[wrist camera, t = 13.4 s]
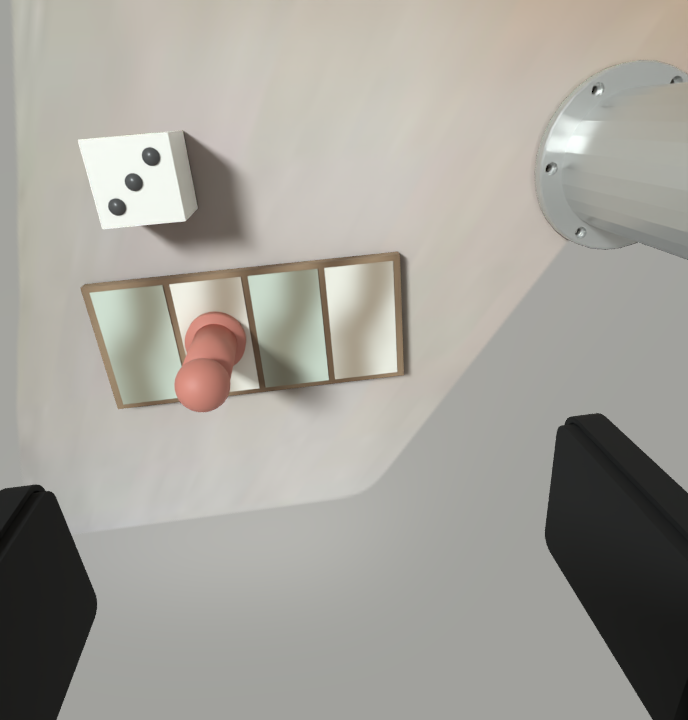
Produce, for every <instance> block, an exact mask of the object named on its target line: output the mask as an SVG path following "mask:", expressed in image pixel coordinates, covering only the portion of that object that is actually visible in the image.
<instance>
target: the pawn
mask: <svg viewBox="0 0 688 720" xmlns="http://www.w3.org/2000/svg"><path fill="white" fill-rule="evenodd" d="M245 346H246V334H245V331H244V329H243V327H242V325H241V324H240V323H239V322H238V320H236V319H235V318H234V317H232V316H231V315H229V314H226V313H223V312H216V311H215V312H207V313H204V314H201V315H200V316H198V317H197V318H195V319H194V320H193V321H192V323H191V324H190V326H189V328H188V330H187V332H186V335H185V348H186V351H187V355H186V357H185V360H184V362H183V365H182V367H181V368H180V370H179V371H178V373H177V375H176V378H175V383H174V388H175V393H176V396H177V398H178V399H179V401H180V402H181V403H182V404H183V405H184V406H185V407H186V408H188V409H190V410H192V411H196V412H208V411H212V410H214V409H216V408H218V407H219V406H221V405H222V404H223V403H224V402H225V400H226V399H227V397H228V395H229V392H230V384H231V383H230V379H231V374H232V370H233V366H234V365H236V364H237V363H238V362H239V361H240V359H241V358H242V356H243V354H244V351H245Z"/></svg>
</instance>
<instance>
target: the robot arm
mask: <svg viewBox="0 0 688 720" xmlns="http://www.w3.org/2000/svg"><path fill="white" fill-rule="evenodd" d="M592 88H594V92H593V93H592ZM547 165H549V168H548V170H547V171H546V170H545V169H546V166H547ZM535 186H536V193H537V197H538V201H539V205H540V207H541V209H542V211H543V214H544V216H545V218H546V219H547V221H548V222H549V223H550V224H551V226H552V227H553V228H554V229H555V230H556V231H557V232H558V233H560V234H561V235H562V236H563V237H565V238H566V239H568V240H570V241H572V242H575V243H577V244H579V245H582V246H585V247H588V248H594V249H604V250H606V249H615V248H622V247H625V246H628V245H632V244H635V243H637V242H639V243H642V244H645V245H648V246H651V247H654V248H657V249H659V250H662V251H665V252H667V253H670V254H673V255H676V256H679V257H682V258H684V259H687V260H688V75H687V73H685V72H683V71H682V70H680V69H678V68H677V67H675V66H673V65H670V64H667V63H663V62H660V61H649V60H639V61H632V62H625V63H622V64H618V65H615V66H612V67H608V68H606V69H604V70H602V71H600V72H599V73H597V74H595V75H593V76H591V77H590V78H588V79H587V80H586V81H584V82H583V83H582V84H581V85H579V86H578V87H577V88H575V89H574V90H573V92H572V93H571V94H570V95H569V96H568V97H567V98H566V99H565V100H564V101H563V102H562V103H561V105H560V106H559V108H558V109H557V111H556V112H555V114H554V115H553V117H552V118H551V120H550V122H549V124H548V126H547V128H546V130H545V133H544V135H543V137H542V140H541V143H540V147H539V150H538V154H537V159H536V167H535ZM577 229H578V230H577ZM576 230H577V232H576ZM545 539H546V543H547V546H548V549H549V550H550V553H551V554H552V556H553V558H554V559H555V561H556V563H557V564H558V566H559V568H560V569H561V571H562V572H563V574H564V576H565V577H566V579H567V581H568V582H569V584H570V585H571V587H572V589H573V590H574V592H575V593H576V595H577V597H578V598H579V600H580V602H581V603H582V605H583V606H584V608H585V610H586V612H587V613H588V615H589V616H590V618H591V620H592V621H593V623H594V625H595V626H596V628H597V630H598V631H599V633H600V634H601V636H602V638H603V639H604V641H605V643H606V644H607V646H608V647H609V649H610V651H611V652H612V654H613V656H614V657H615V659H616V660H617V662H618V664H619V665H620V667H621V669H622V670H623V672H624V674H625V675H626V677H627V678H628V680H629V682H630V683H631V685H632V687H633V688H634V690H635V691H636V693H637V695H638V696H639V698H640V700H641V701H642V703H643V705H644V706H645V708H646V709H647V711H648V713H649V714H650V716H651V717H652V719H653V720H688V493H687V492H686V491H685V490H684V489H683V488H682V487H681V486H680V485H678V484H677V483H676V482H675V481H674V480H673V479H672V478H671V477H670V476H669V475H668V474H667V473H665V472H664V471H663V470H662V469H661V468H660V467H659V466H658V465H657V464H656V463H655V462H654V461H653V460H652V459H650V458H649V457H648V456H647V455H646V454H645V453H644V452H643V451H642V450H641V449H640V448H639V447H637V446H636V445H635V444H634V443H633V442H632V441H631V440H630V439H629V438H628V437H627V436H626V435H625V434H624V433H623V432H621V431H620V430H619V429H618V428H617V427H616V426H615V425H614V424H613V423H612V422H611V421H610V420H609V419H607V418H606V417H605V416H604V415H602V414H599V413H596V414H588V415H580V416H573V417H569V418H567V420H566V422H565V425H563V426H560V427H559V428H558V431H557V435H556V443H555V452H554V460H553V468H552V477H551V486H550V493H549V502H548V510H547V518H546V527H545ZM96 610H97V599H96V595H95V592H94V590H93V587H92V585H91V582H90V580H89V577H88V575H87V572H86V570H85V567H84V565H83V563H82V560H81V558H80V555H79V553H78V550H77V548H76V545H75V543H74V540H73V538H72V536H71V533H70V531H69V528H68V526H67V523H66V521H65V518H64V516H63V513H62V511H61V509H60V506H59V504H58V501H57V499H56V497H55V495H54V494H53V493H52V492H50V491H45V490H44V488H43V487H42V486H40V485H29V486H21V487H13V488H5V489H3V490H1V491H0V720H56V719H57V716H58V714H59V711H60V709H61V706H62V703H63V701H64V698H65V695H66V693H67V690H68V687H69V684H70V682H71V679H72V677H73V674H74V672H75V669H76V666H77V663H78V661H79V658H80V656H81V653H82V650H83V648H84V645H85V642H86V640H87V637H88V635H89V632H90V629H91V626H92V624H93V621H94V619H95V615H96Z"/></svg>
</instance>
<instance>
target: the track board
mask: <svg viewBox="0 0 688 720" xmlns="http://www.w3.org/2000/svg"><path fill="white" fill-rule="evenodd" d="M81 292H82V295H83V298H84V301H85V304H86V308H87V311H88V314H89V317H90V320H91V324H92V327H93V330H94V333H95V337H96V340H97V343H98V346H99V349H100V353H101V356H102V359H103V362H104V365H105V369H106V372H107V375H108V378H109V381H110V385H111V388H112V391H113V394H114V398H115V401H116V404H117V407H118V409H123V408H131V407H140V406H148V405H157V404H165V403H173V402H180V401H179V399H178V398H177V396H176V393H175V388H174V383H175V378H176V375H177V373H178V371H179V370H180V368H181V367H182V365H183V362H184V360H185V357H186V355H187V351H186V348H185V335H186V332H187V330H188V328H189V326H190V324H191V323H192V321H193V320H194V319H195V318H197V317H198V316H200V315H201V314H204V313H207V312H215V311H216V312H223V313H226V314H229V315H231V316H232V317H234V318H235V319H236V320H238V322H239V323H240V324H241V325H242V327H243V329H244V331H245V334H246V346H245V351H244V354H243V356H242V358H241V359H240V361H239V362H238V363H237V364H236V365H234V366H233V370H232V374H231V379H230V383H231V384H230V392H229V395H228V396H232V395H240V394H249V393H257V392H266V391H274V390H282V389H291V388H299V387H307V386H316V385H324V384H333V383H341V382H349V381H358V380H366V379H375V378H383V377H391V376H400V375H404V365H403V333H402V302H401V270H400V254H399V253H398V252H391V253H381V254H371V255H362V256H352V257H343V258H333V259H323V260H314V261H304V262H295V263H285V264H275V265H266V266H256V267H247V268H237V269H227V270H218V271H208V272H199V273H189V274H179V275H170V276H160V277H151V278H141V279H132V280H122V281H112V282H103V283H93V284H85V285H83V286H82V287H81Z"/></svg>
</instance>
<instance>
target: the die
mask: <svg viewBox="0 0 688 720" xmlns="http://www.w3.org/2000/svg"><path fill="white" fill-rule="evenodd" d="M78 143H79V146H80V150H81V154H82V157H83V161H84V165H85V168H86V172H87V175H88V179H89V183H90V186H91V190H92V193H93V197H94V201H95V204H96V208H97V212H98V215H99V219H100V222H101V226H102V229H110V228H120V227H131V226H141V225H151V224H162V223H172V222H183V221H186V220H187V219H188V218H189V217H190V216H191V215H192V214H193V213H194V212H195V211H196V210H197V209H198V206H197V201H196V196H195V191H194V185H193V180H192V175H191V170H190V165H189V160H188V154H187V149H186V144H185V139H184V134H183V130H181V131H169V132H157V133H146V134H134V135H122V136H111V137H100V138H91V139H81V140H78Z"/></svg>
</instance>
